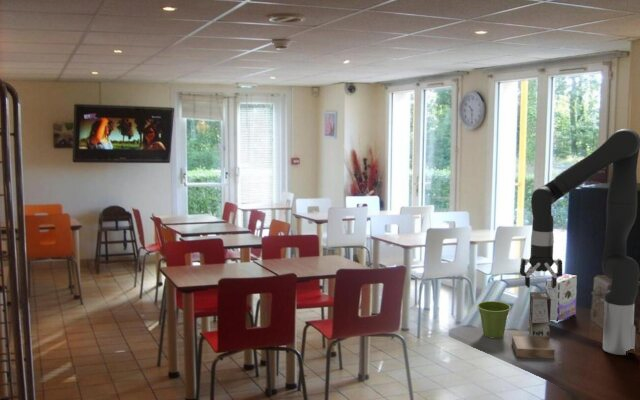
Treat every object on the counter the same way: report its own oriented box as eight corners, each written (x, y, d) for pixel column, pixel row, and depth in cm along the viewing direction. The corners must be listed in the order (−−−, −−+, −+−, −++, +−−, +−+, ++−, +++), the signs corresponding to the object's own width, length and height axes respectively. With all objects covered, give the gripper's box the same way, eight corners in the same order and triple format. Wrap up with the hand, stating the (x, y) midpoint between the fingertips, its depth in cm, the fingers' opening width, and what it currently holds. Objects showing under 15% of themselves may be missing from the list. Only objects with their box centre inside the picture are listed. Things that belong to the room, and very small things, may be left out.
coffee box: (550, 343, 235) (551, 299, 233) (531, 342, 236) (532, 298, 234) (546, 334, 244) (547, 291, 241) (528, 333, 245) (529, 291, 243)
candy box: (562, 312, 268) (564, 272, 266) (576, 315, 264) (577, 275, 261) (544, 320, 259) (545, 279, 257) (557, 323, 255) (559, 282, 252)
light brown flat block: (547, 345, 233) (547, 337, 232) (554, 358, 221) (554, 349, 221) (512, 344, 235) (512, 336, 234) (517, 357, 223) (517, 348, 222)
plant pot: (470, 334, 246) (470, 305, 244) (492, 327, 252) (492, 299, 250) (494, 343, 236) (495, 313, 234) (517, 336, 242) (517, 306, 240)
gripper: (560, 241, 237) (558, 285, 240) (519, 240, 239) (518, 284, 242) (565, 245, 230) (563, 290, 232) (523, 244, 232) (521, 289, 234)
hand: (540, 287), depth 237 cm, fingers open, 8 cm apart
